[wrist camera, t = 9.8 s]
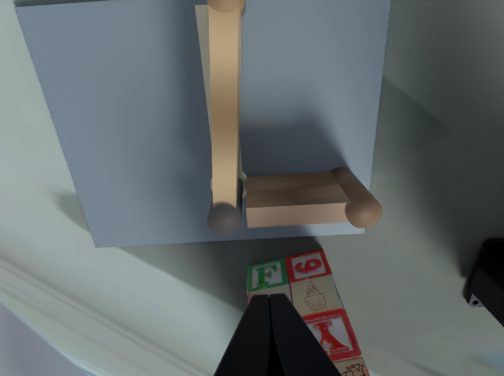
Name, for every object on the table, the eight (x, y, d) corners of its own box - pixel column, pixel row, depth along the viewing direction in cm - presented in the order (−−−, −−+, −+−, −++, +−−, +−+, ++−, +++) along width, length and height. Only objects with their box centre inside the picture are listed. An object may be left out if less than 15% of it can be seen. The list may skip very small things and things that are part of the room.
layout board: (389, -18, 16) (394, -21, 15) (362, 230, 22) (364, 234, 22) (19, 8, 16) (12, 7, 16) (98, 244, 22) (95, 248, 22)
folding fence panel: (242, 198, 20) (240, 236, 16) (216, 197, 20) (207, 235, 16) (247, -12, 15) (246, -37, 11) (212, -14, 15) (198, -39, 11)
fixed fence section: (354, 166, 19) (384, 197, 15) (352, 191, 20) (379, 227, 16) (246, 172, 19) (245, 205, 15) (248, 196, 20) (248, 234, 16)
